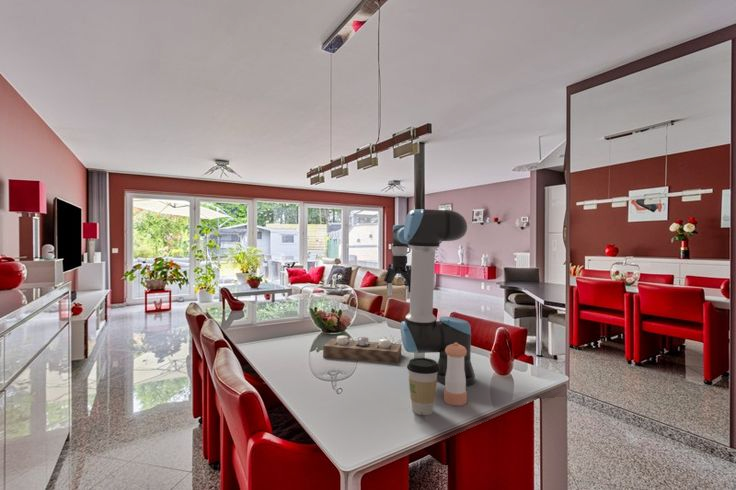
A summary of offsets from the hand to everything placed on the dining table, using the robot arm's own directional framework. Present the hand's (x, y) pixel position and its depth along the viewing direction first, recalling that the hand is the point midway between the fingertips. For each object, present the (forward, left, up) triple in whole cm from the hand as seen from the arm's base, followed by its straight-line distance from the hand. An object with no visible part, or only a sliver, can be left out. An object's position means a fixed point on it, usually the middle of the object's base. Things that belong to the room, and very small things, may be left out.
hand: (399, 297), depth 181 cm
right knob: (-19, +4, -22) cm, 30 cm away
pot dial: (-19, +14, -22) cm, 32 cm away
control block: (-19, +14, -25) cm, 35 cm away
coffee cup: (-68, -17, -25) cm, 75 cm away
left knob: (-19, +24, -22) cm, 38 cm away
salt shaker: (-58, -27, -25) cm, 69 cm away
